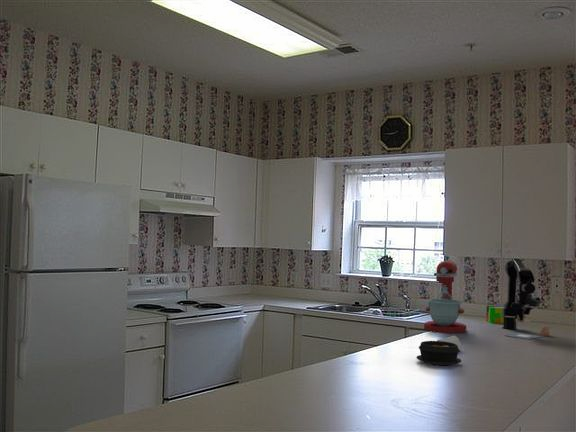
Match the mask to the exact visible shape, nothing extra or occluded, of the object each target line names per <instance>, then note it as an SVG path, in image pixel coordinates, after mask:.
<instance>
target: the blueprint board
mask: <svg viewBox="0 0 576 432" xmlns="http://www.w3.org/2000/svg"><path fill="white" fill-rule="evenodd" d="M504 336H505V337H508V336H509V337H510V338H515V339H517V338H518V339H524V340H534V339H535V340H536V339H538V338H539V339H540V338H543V337H544V336H541V335H536V334H529V333H522V332H515V333H510V334H504ZM509 337H508V338H509Z"/></svg>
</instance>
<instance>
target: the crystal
mask: <svg viewBox="0 0 576 432" xmlns="http://www.w3.org/2000/svg"><path fill="white" fill-rule="evenodd" d="M436 341H443V342H450V343H454V344H456V345H457V346H458V349H459V350H460V351H463V347H462V343H461V341H460V339H459V338H458V337H457V336H456V335H451V336H448V337H444V338H440V339H437V340H436ZM460 351H459V352H460Z"/></svg>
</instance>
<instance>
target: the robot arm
mask: <svg viewBox="0 0 576 432" xmlns="http://www.w3.org/2000/svg"><path fill="white" fill-rule="evenodd" d="M504 269H505V274H506V276H507V295H506V296H507V298H506V299H507V300H506V302H505V303H504V305H503V307H504V308H503V311H502V318H504V324H503V326H502V329H505V330H506V329H507V330H517V329H518V327H517V320H518V316H519V318H520V320H521V321H523V315H524V314H526V315H530V313H531V311H532V310H533V309H534V308H537V307H539V306H540V305H541V304H542V301H541V300H542V299H541V298H540V297H539V296H537V297H533V295H532V294H534V293H535V291H536V286H535V284H533V283H535V277H534V276H535V275H534V274H533V271H532V269H529V268H527V267H526V266H525V265H524V264H523V261H522V259H521V258H519V259H518V258H512V259H511V260H510V261H508V262H506V263H505V265H504ZM517 280H518V283H519V284H518V293H516V292H517ZM516 294H517V296H518V300H517V301H516V297H517V296H516ZM505 316H506V317H505Z"/></svg>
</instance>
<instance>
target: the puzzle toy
mask: <svg viewBox="0 0 576 432" xmlns="http://www.w3.org/2000/svg"><path fill="white" fill-rule="evenodd" d="M503 308H504V306H502V305H501V306H497V305H486V315H485V316H486V318H485V319H486V322H488V323H490V324H501V325H502V324H503V325H504V318H502V311H503ZM505 317H507V316H505Z"/></svg>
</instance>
